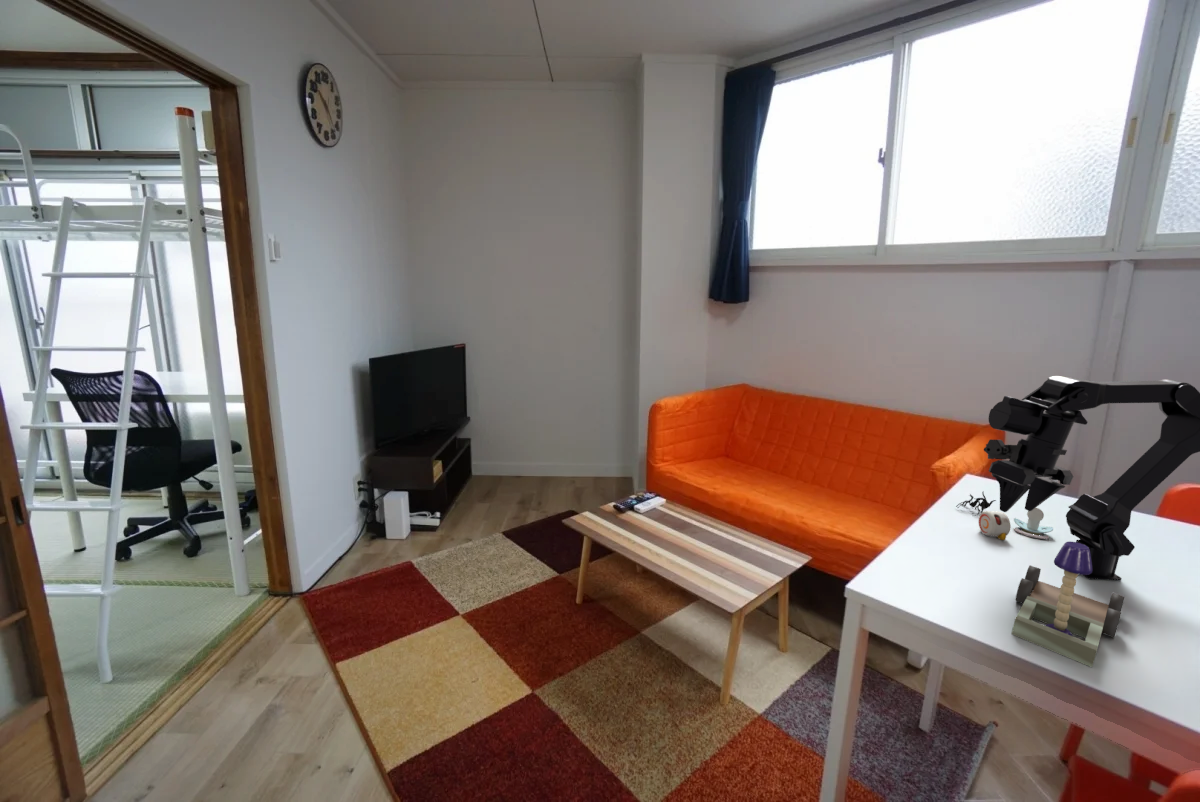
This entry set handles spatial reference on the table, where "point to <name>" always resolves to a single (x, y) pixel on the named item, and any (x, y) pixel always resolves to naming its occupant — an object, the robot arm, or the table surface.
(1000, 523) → the roller toy
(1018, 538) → the table surface
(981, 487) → the table surface
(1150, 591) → the table surface
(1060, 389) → the robot arm
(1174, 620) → the table surface
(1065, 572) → the toy lamp
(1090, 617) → the chassis
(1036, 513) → the pacifier
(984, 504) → the creature
